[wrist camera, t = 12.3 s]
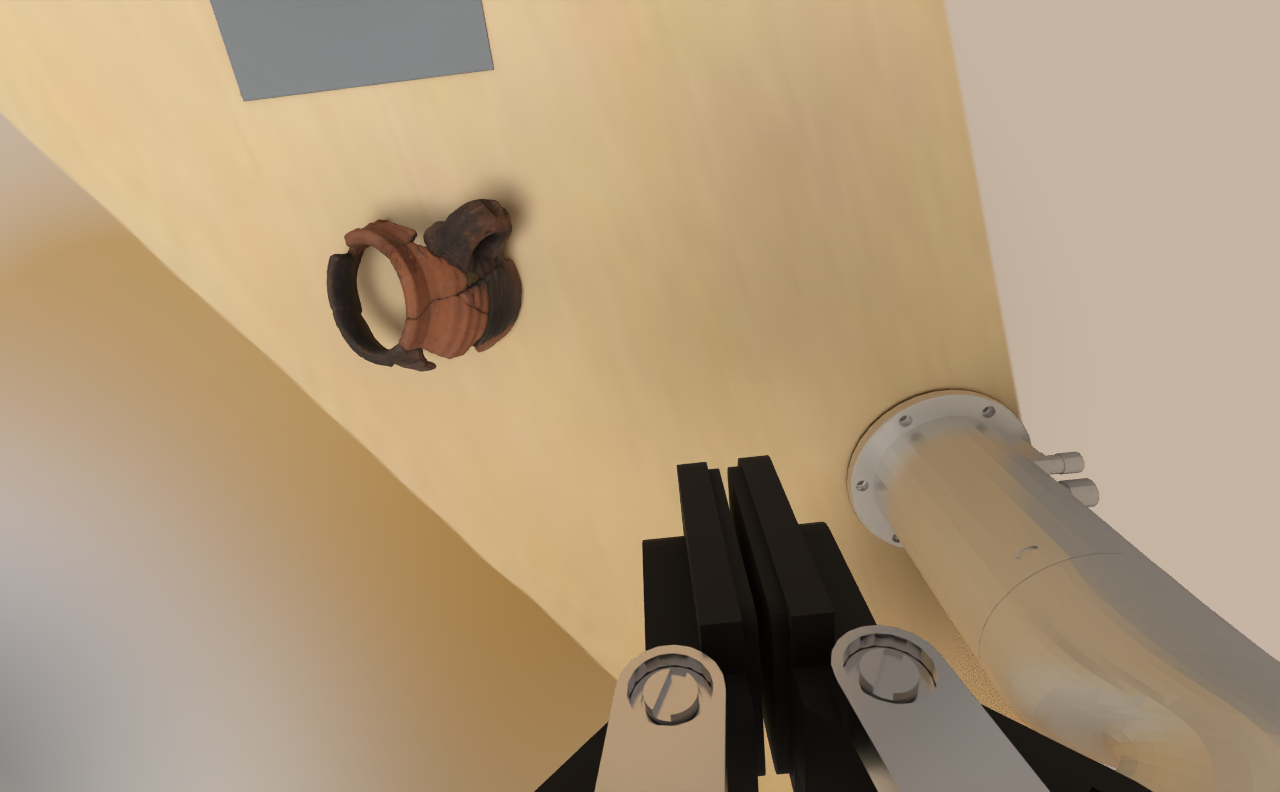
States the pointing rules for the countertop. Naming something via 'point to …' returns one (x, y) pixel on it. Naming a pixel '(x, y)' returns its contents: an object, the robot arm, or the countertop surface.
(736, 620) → the robot arm
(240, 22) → the t mat
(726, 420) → the countertop surface
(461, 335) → the pottery mug
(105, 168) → the countertop surface
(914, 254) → the countertop surface
